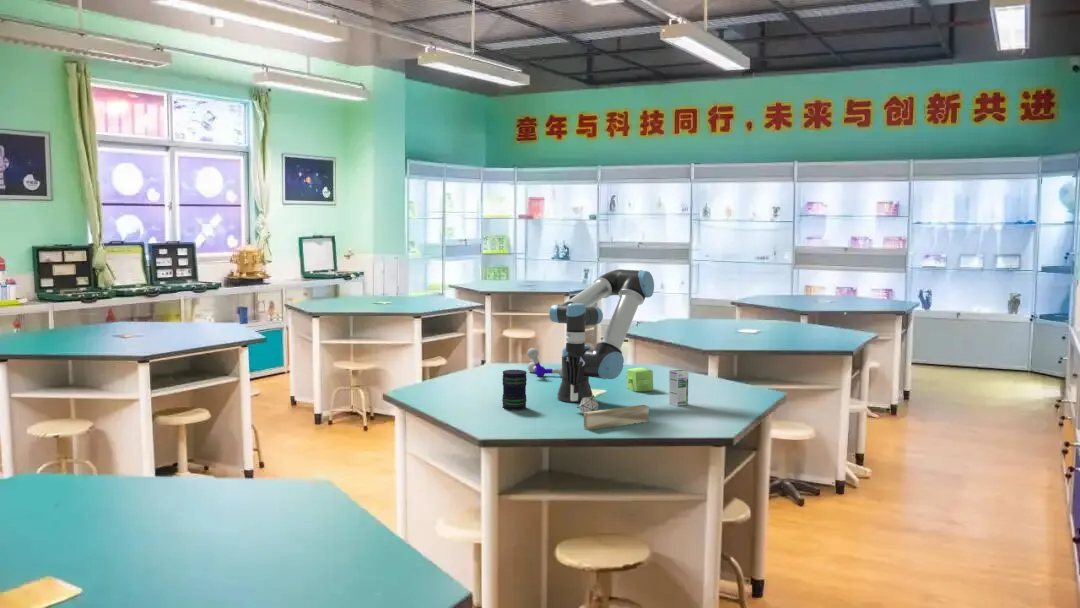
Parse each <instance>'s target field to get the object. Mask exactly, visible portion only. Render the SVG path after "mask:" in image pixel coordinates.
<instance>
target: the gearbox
mask: <svg viewBox="0 0 1080 608" xmlns="http://www.w3.org/2000/svg"><path fill="white" fill-rule="evenodd" d="M625 376H626V388H627V389H628V388H629V390H631V389H632V390H631V391H633V390H634V391H633V392H636V391H637V392H650V391H654V372H653V370H652V369H649V368H646V367H635V368H628V369H626V375H625Z"/></svg>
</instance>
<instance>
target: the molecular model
mask: <svg viewBox="0 0 1080 608" xmlns="http://www.w3.org/2000/svg"><path fill="white" fill-rule="evenodd" d="M526 355H527V357H528V359H532V362H530V363H528V365H527V369H528V371H529V373H532V374H535V375H536V376H537V377H543V376H545V375H549V374H558V375H559V376H560V377H562V365H560V366H559V367H558V368H545V367H544V366H542V365H541V363H540V361H539V359H538V357H539V350H538V349H537V348H535V347H531V348H529V349H528V350H527V352H526Z"/></svg>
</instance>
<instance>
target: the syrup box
mask: <svg viewBox="0 0 1080 608" xmlns="http://www.w3.org/2000/svg"><path fill="white" fill-rule="evenodd" d="M668 380H669V381H668V382H669V389H668V390H669V391H668V392H669V398H668V403H669V404H670V405H672V404H673V405H672V406H675V405H676V407H678V406H679V407H680V406H688V404H689V371H688V370H686V369H681V368H680V369H671V370H669V378H668Z"/></svg>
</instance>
